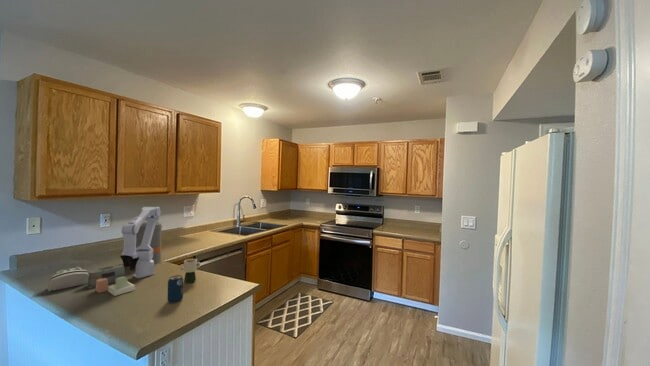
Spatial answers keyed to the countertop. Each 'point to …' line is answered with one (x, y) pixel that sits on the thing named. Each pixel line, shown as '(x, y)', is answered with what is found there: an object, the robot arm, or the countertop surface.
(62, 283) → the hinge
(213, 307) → the countertop surface
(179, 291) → the soda can
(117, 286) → the sage green block
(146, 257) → the robot arm
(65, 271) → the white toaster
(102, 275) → the grey unit
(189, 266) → the character mug
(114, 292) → the off-white tray
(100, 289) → the terracotta block
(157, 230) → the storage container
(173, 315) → the countertop surface
